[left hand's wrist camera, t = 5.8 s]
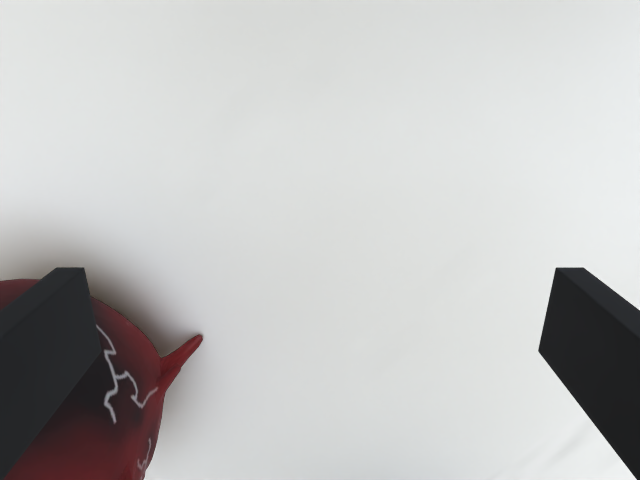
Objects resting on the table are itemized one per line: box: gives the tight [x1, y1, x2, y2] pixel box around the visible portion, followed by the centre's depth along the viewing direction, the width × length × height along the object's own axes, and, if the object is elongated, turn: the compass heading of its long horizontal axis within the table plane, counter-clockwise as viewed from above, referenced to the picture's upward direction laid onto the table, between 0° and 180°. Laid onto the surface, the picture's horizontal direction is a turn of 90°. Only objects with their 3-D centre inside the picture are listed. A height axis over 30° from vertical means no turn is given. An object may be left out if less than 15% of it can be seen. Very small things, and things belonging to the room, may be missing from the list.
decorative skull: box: [0, 279, 203, 480], centre depth 38 cm, size 21×24×25 cm
